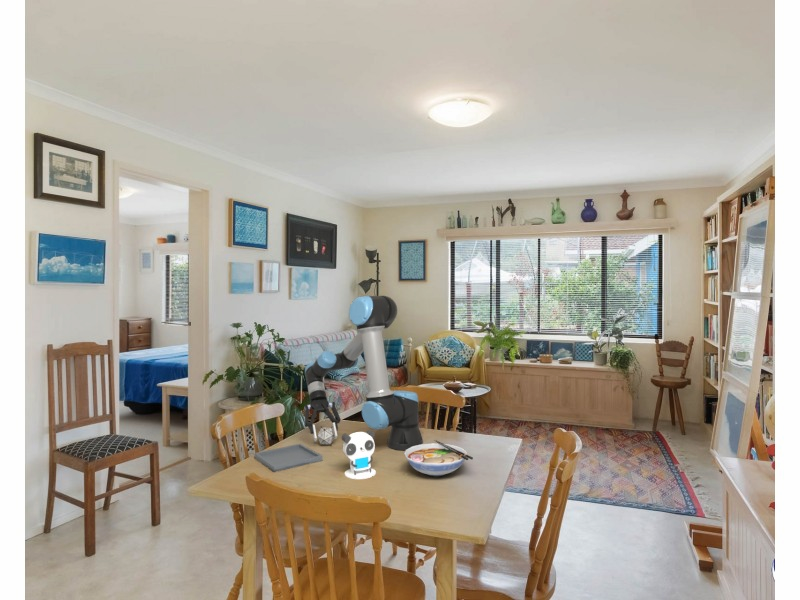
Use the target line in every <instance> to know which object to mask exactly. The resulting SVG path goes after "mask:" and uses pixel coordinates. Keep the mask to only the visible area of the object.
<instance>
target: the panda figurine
mask: <svg viewBox="0 0 800 600" xmlns="http://www.w3.org/2000/svg"><path fill="white" fill-rule="evenodd" d="M375 435H376V434H375V432H374V431H373V430H370V429H367V430H366V432H365V431H357V432H353V433H350V434H347V433H343V434H342V435H341V440H342V441H343V444H342V452H343V453H344V455H345V457H347V458H348V459H349V466H350V468H349V469H346V470H345V471H344V476H345V477H346V478H348V479H353V480H365V479H369V478H373V477H374V476H375V475H376V474H377V472H376V470H375V468H372V467H371V463H372V462H373V460H374V459H373V456H372V455H373V453H374V452H375V449H376V448H375V447H376V445H375V441H374V438H375ZM372 476H373V477H372Z"/></svg>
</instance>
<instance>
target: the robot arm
mask: <svg viewBox="0 0 800 600" xmlns="http://www.w3.org/2000/svg"><path fill="white" fill-rule="evenodd" d="M397 315H398V305H397V303H396V302H395V300H394V299H393V298H391V297H390V296H386V295H364V296H358V297H356V298H355V299H354V300H353V301H352V303H351V304H350V306H349V309H348V316H349V317H348V318H349V320H350V322H351V323H352V325H355V326H356V330H357V332H358V333H356V335H355V336H354V337H353V338H352V340H350V342H349V343H348V345H347V346H346V347H345V348H344V349H343V350H342V351H341V352H340V353H334V352H333V351H329V350H324V351H323V352H322V353H321V354H320V355H318V357H317V359H316V360H315V362H311V363H309V364H307V365H305V368H304V376H305V380H306V386H307V391H308V398H309V402H310V404H304V407H303V409H304V427H305V428H308V429H309V433H310V434H311V435H312V436H313V442H317V439H318V437H317V436H316V435H317V432H316V431H317V430H316V425H315V424H314V422H315V418H316V415H317V414H319V413H324V414H325V416H326V417H327V418H328V419H329V420H330V422H331V427H332V426H333V427H332V430H333V433H334V440H336V439H337V438H338V433H337V431H338V430H339V426H338V424H340V423H341V416H340V415H339V411H338V410H337V407H336V402H335V401H332V402H329V401H328V398H327V393H326V388H325V383H324V377H325V376H326V375H327V374H328V373H329V372H332V371H338V370H346V369H350V368H355V366H357V365H358V362H359V357H360V356H361V355H362V354H363V356H364V357H363V358H364V365H365V373H366V379H367V380H366V381H367V388H368V393H367V394H366V395H365V400H366V401H365V403H364V404H363V405H362V407H361V416H362V418H363V421H364V423H365V424H366V425H367V426H368V427H369V428H370V429H372V430H381V429H386V428H389V427H390V432H389V435H388V438H387V447H388V448H389V449H392V450H396V451H406V449H408V448H410V447H412V446H416V445H421V444H424V439H423V436H422V433H421V430H420V427H419V426H420V425H419V402H420V401H419V395H418V393H417V392H415V391H408V390H391V388H390V382H389V376H388V374H389V373H388V368H387V361H386V353H385V352H386V351H385V345H384V339H383V331H384V330H385V329H388V328H389V327H390V326H391V325H392V324H393V323H394V322H395V319H396V318H397ZM328 407H329V408H330V409H331V411H332V412H331V411H330V410H329V408H328ZM310 409H311V410H312V411H313V412H312V415H311V418H310V422H309V414H310V413H309V411H310Z"/></svg>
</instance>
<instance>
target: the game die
mask: <svg viewBox="0 0 800 600" xmlns="http://www.w3.org/2000/svg"><path fill="white" fill-rule="evenodd" d="M332 427H333V426H332V425H331V427H325V426H324V427H323V426H322V425H320V429H319V430H318V433H316V436H317V439H318V441H319V447H320V446H321V445H327V446H328V445H330V447H332V443H333V441H334V440H335V438H334V433H333V428H332Z"/></svg>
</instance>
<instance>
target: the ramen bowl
mask: <svg viewBox="0 0 800 600" xmlns="http://www.w3.org/2000/svg"><path fill="white" fill-rule="evenodd" d="M433 441H434V442H435V443H434V442H432V443H423V444H421V445H416V446H412V447H410V448H408V449H406V450H404V453H403V455H404V456H405V458H406V460H407V461H408V463H409V464H410V466H411V467H412V468H413V469H414V470H416V471H417V472H420V473H421V474H425V475H428V476H431V477H441V476H442V477H443V476H445V475H446V474H447V475H448V474H450V473H451V474H452V473H454V472H455V471H456V470H457V469H459V468H460V467H461V466H462V465H463V463H464V462H465V460H466V461H469V459H470V460H474V459H473V458H474V457H472V456H471V455H469V454H468V451H466V450H465V449H464V448H463V447H460V446H458V445H455V444H449V443H443V442H440V441H438V440H435V439H434V440H433Z"/></svg>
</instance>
